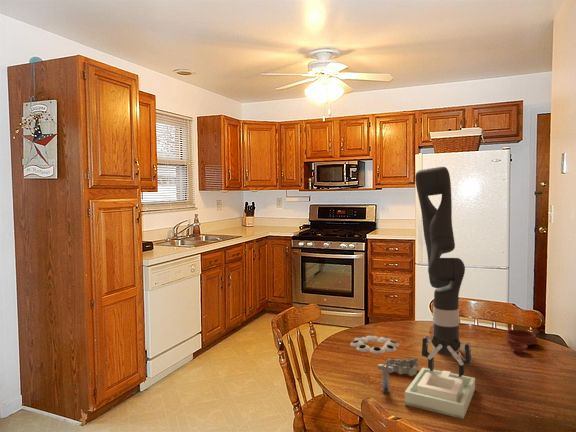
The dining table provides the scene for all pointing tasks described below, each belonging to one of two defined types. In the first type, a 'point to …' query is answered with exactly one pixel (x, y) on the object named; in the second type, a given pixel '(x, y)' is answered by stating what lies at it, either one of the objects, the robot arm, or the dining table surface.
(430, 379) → the cream rectangular frame
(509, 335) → the pottery
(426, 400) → the tray
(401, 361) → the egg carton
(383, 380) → the T-head stake
